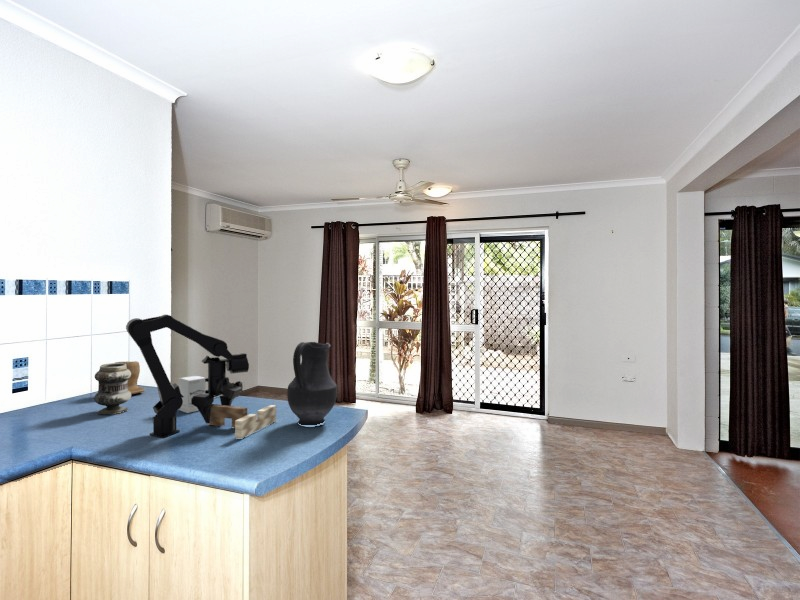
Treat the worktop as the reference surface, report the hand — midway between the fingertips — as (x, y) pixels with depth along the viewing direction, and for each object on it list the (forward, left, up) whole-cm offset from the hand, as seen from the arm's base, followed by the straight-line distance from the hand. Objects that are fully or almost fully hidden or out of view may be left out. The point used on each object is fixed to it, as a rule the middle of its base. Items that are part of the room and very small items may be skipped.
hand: (216, 419), depth 159 cm
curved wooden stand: (+22, +66, -2) cm, 70 cm away
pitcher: (+11, -30, -2) cm, 32 cm away
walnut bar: (0, -5, -2) cm, 5 cm away
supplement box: (+13, +22, -2) cm, 26 cm away
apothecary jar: (+1, +48, -2) cm, 48 cm away
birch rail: (0, -16, -2) cm, 16 cm away
